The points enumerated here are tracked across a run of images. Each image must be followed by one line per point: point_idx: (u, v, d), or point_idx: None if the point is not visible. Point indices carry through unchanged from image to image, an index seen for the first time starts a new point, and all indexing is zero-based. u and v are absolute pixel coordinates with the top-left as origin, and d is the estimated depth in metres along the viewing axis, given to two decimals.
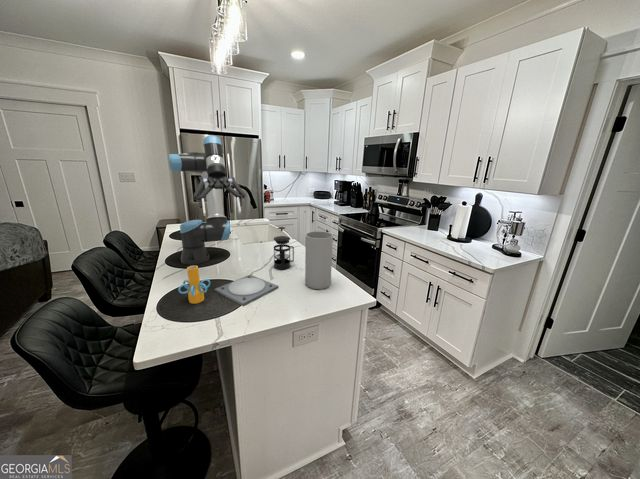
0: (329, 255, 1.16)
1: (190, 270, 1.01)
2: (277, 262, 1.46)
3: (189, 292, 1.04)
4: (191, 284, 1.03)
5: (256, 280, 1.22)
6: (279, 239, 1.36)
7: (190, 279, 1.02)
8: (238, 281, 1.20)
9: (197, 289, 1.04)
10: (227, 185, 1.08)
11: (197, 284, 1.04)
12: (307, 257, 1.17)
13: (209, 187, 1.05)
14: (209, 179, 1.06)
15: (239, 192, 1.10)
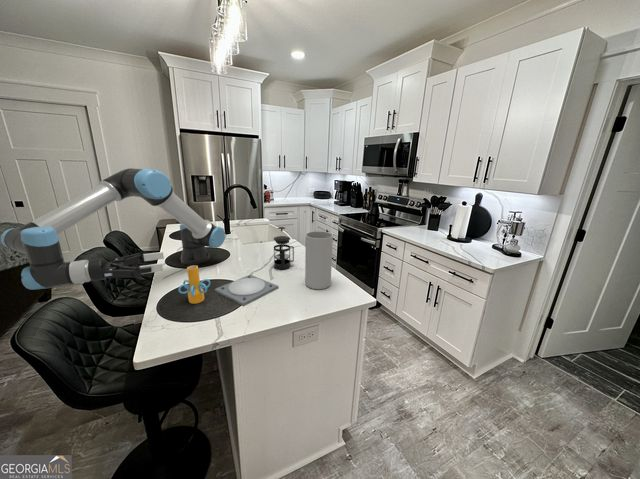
0: (329, 255, 1.16)
1: (190, 270, 1.01)
2: (277, 262, 1.46)
3: (189, 292, 1.04)
4: (191, 284, 1.03)
5: (256, 280, 1.22)
6: (279, 239, 1.36)
7: (190, 279, 1.02)
8: (238, 281, 1.20)
9: (197, 289, 1.04)
10: None
11: (197, 284, 1.04)
12: (307, 257, 1.17)
13: (127, 265, 0.95)
14: None
15: None
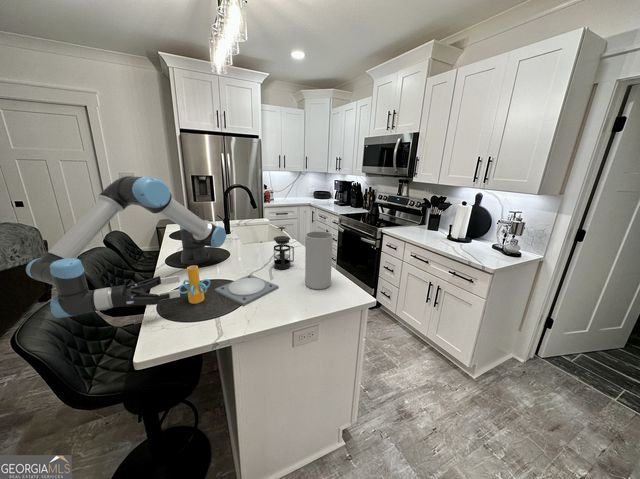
0: (329, 255, 1.16)
1: (190, 270, 1.01)
2: (277, 262, 1.46)
3: (189, 292, 1.04)
4: (191, 284, 1.03)
5: (256, 280, 1.22)
6: (279, 239, 1.36)
7: (190, 279, 1.02)
8: (238, 281, 1.20)
9: (197, 289, 1.04)
10: None
11: (197, 284, 1.04)
12: (307, 257, 1.17)
13: None
14: None
15: None
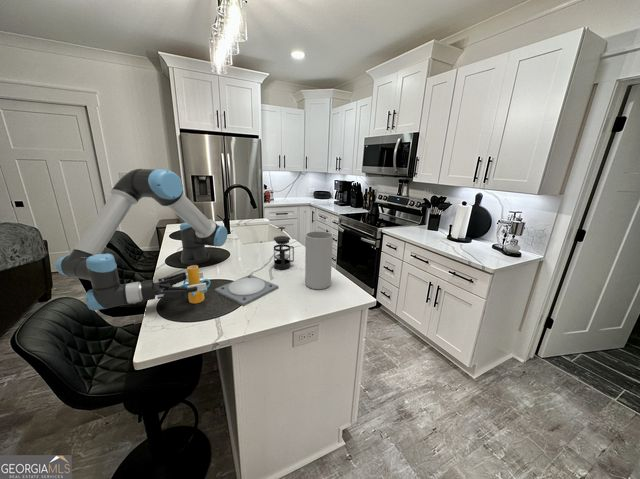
0: (329, 255, 1.16)
1: (190, 270, 1.01)
2: (277, 262, 1.46)
3: None
4: (191, 284, 1.03)
5: (256, 280, 1.22)
6: (279, 239, 1.36)
7: (190, 279, 1.02)
8: (238, 281, 1.20)
9: None
10: None
11: None
12: (307, 257, 1.17)
13: (172, 285, 1.04)
14: None
15: None
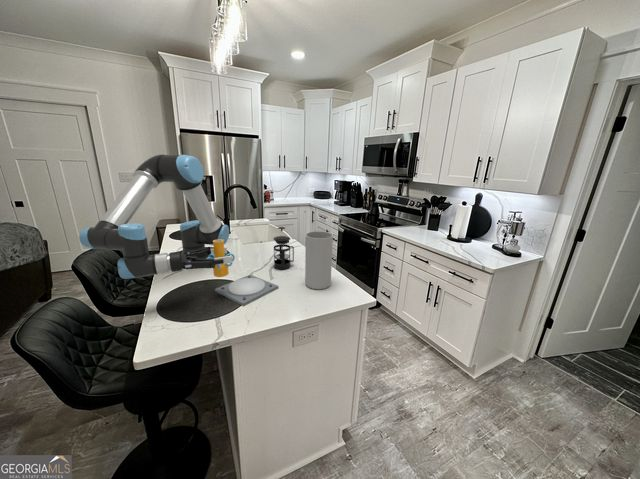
0: (329, 255, 1.16)
1: (216, 243, 1.02)
2: (277, 262, 1.46)
3: None
4: (217, 257, 1.04)
5: (256, 280, 1.22)
6: (279, 239, 1.36)
7: (216, 252, 1.03)
8: (238, 281, 1.20)
9: None
10: None
11: None
12: (307, 257, 1.17)
13: None
14: None
15: None
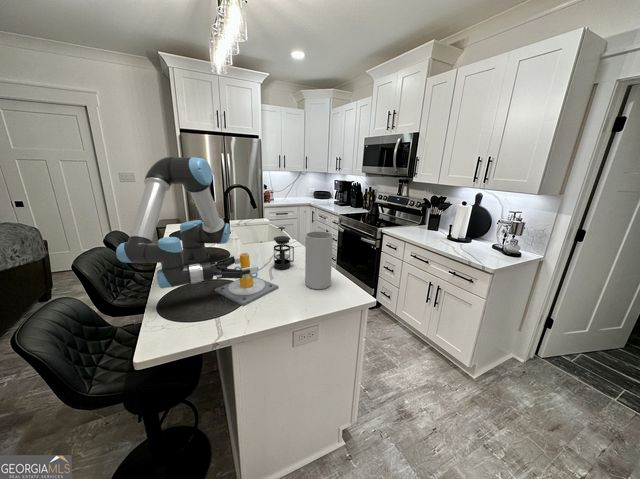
0: (329, 255, 1.16)
1: (243, 257, 1.10)
2: (277, 262, 1.46)
3: None
4: None
5: (256, 280, 1.22)
6: (279, 239, 1.36)
7: (242, 265, 1.12)
8: (238, 281, 1.20)
9: (248, 274, 1.14)
10: None
11: None
12: (307, 257, 1.17)
13: None
14: None
15: None
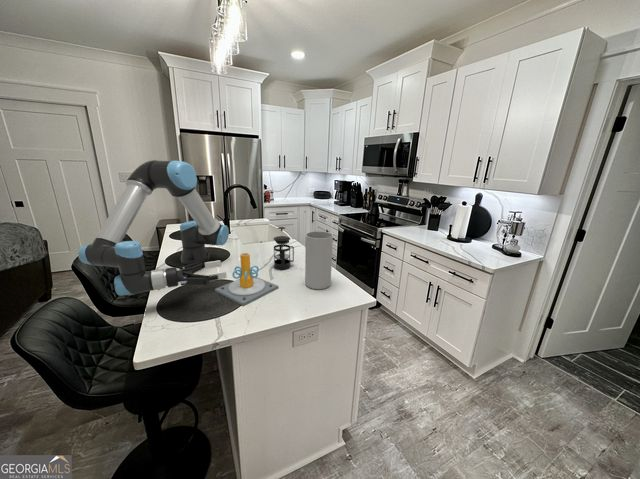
0: (329, 255, 1.16)
1: (243, 257, 1.11)
2: (277, 262, 1.46)
3: (241, 277, 1.13)
4: (243, 270, 1.12)
5: (256, 280, 1.22)
6: (279, 239, 1.36)
7: (243, 265, 1.12)
8: (238, 281, 1.20)
9: (248, 274, 1.14)
10: None
11: (249, 270, 1.13)
12: (307, 257, 1.17)
13: (193, 273, 1.07)
14: None
15: None
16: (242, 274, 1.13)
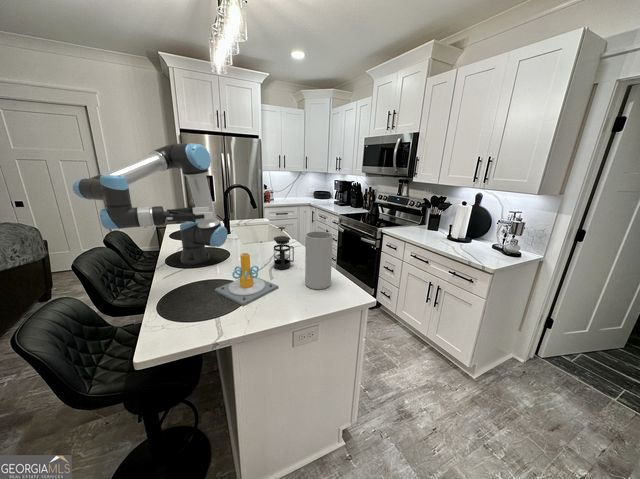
0: (329, 255, 1.16)
1: (243, 257, 1.11)
2: (277, 262, 1.46)
3: (241, 277, 1.13)
4: (243, 270, 1.12)
5: (256, 280, 1.22)
6: (279, 239, 1.36)
7: (243, 265, 1.12)
8: (238, 281, 1.20)
9: (248, 274, 1.14)
10: None
11: (249, 270, 1.13)
12: (307, 257, 1.17)
13: None
14: None
15: None
16: (242, 274, 1.13)
